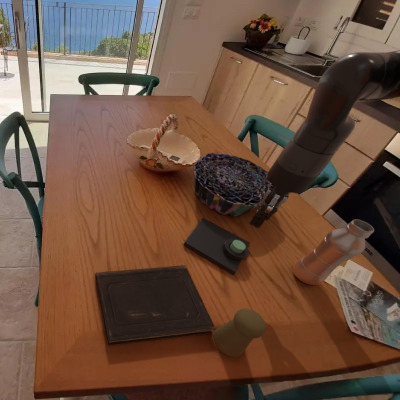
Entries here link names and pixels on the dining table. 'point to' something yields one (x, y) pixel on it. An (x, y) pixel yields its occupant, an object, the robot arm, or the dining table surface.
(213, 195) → the decorative bowl
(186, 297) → the hardcover book
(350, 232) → the plastic bottle
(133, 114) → the dining table surface
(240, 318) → the cork
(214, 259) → the dark grey button base
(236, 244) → the tare button
